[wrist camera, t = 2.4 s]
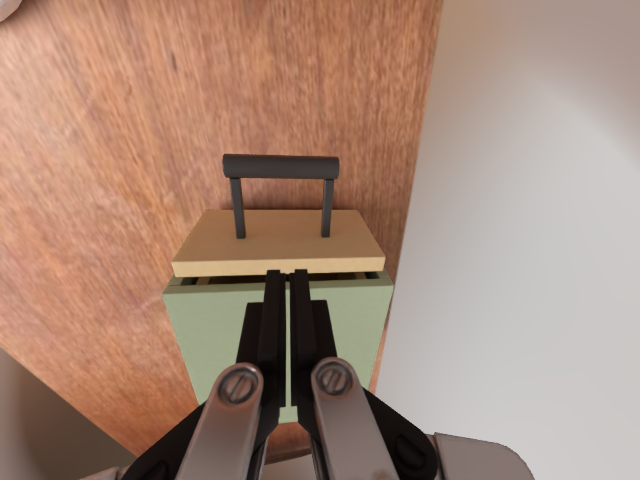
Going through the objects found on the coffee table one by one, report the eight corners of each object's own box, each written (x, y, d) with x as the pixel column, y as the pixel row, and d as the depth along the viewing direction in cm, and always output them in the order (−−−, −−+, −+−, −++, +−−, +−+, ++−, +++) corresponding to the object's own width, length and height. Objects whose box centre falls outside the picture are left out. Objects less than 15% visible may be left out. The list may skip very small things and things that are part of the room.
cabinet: (204, 222, 24) (160, 294, 15) (359, 221, 25) (394, 285, 17) (227, 342, 32) (207, 431, 24) (342, 335, 34) (361, 415, 25)
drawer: (192, 138, 19) (142, 165, 12) (366, 144, 21) (405, 170, 14) (228, 332, 30) (211, 403, 23) (341, 326, 31) (357, 390, 25)
